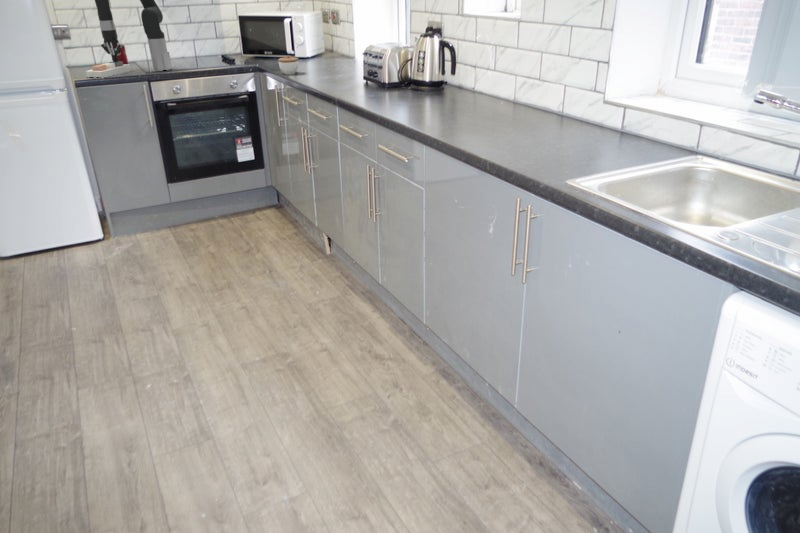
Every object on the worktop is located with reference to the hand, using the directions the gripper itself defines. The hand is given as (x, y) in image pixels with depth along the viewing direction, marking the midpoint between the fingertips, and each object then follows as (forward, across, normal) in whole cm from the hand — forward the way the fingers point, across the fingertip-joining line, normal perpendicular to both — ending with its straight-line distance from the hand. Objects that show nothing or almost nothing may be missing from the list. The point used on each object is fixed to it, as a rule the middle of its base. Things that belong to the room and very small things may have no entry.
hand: (115, 61), depth 338 cm
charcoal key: (+4, 0, 0) cm, 4 cm away
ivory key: (+4, 0, +7) cm, 8 cm away
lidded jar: (+6, -102, -8) cm, 103 cm away
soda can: (+6, +12, -20) cm, 24 cm away
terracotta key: (+4, 0, +14) cm, 15 cm away
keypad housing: (+6, 0, +7) cm, 9 cm away
